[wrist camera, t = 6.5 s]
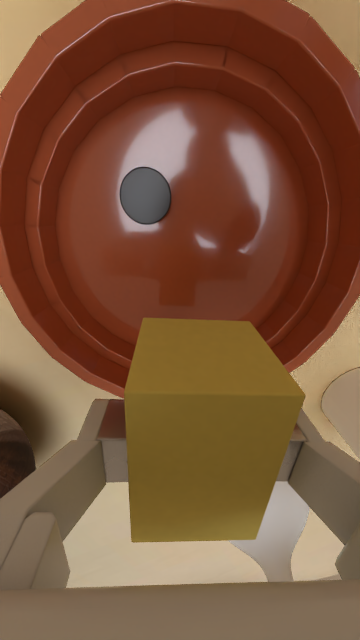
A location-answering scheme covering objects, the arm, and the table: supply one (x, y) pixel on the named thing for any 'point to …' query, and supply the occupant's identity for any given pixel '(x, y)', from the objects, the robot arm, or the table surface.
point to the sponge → (204, 429)
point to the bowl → (180, 178)
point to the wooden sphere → (13, 454)
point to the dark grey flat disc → (145, 195)
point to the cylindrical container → (345, 407)
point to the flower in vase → (277, 533)
